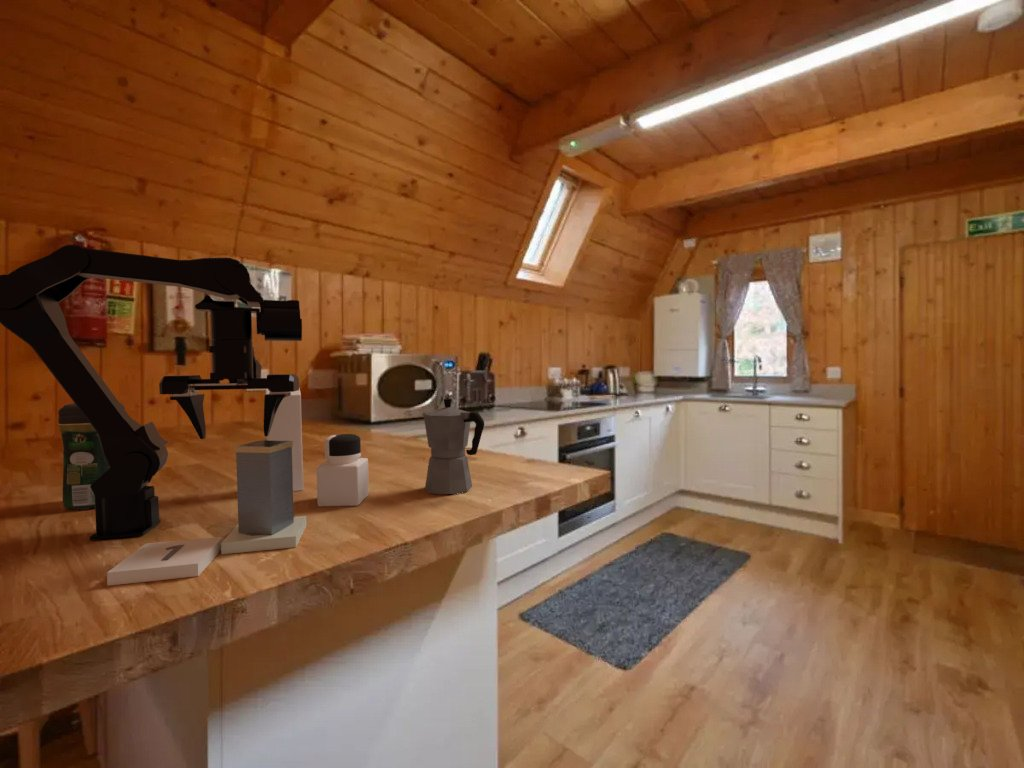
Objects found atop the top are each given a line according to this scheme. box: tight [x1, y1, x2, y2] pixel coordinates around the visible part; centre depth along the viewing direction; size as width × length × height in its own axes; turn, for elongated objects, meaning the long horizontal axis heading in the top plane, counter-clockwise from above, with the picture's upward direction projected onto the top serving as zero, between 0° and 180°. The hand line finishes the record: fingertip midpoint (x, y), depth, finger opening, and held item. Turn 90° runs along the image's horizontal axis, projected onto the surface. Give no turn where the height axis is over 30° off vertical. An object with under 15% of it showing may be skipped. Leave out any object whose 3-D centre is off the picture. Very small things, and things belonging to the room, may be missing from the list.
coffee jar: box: [57, 402, 125, 511], centre depth 86 cm, size 10×8×19 cm
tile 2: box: [220, 515, 307, 555], centre depth 68 cm, size 9×9×2 cm
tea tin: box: [234, 439, 295, 535], centre depth 68 cm, size 5×5×12 cm
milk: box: [264, 387, 304, 492], centre depth 95 cm, size 6×6×22 cm
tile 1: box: [106, 536, 224, 587], centre depth 59 cm, size 9×9×2 cm
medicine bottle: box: [316, 433, 370, 508], centre depth 86 cm, size 7×7×12 cm
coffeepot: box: [422, 397, 485, 495], centre depth 93 cm, size 15×9×18 cm, turn 55°
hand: (235, 437), depth 77 cm, fingers open, 9 cm apart
